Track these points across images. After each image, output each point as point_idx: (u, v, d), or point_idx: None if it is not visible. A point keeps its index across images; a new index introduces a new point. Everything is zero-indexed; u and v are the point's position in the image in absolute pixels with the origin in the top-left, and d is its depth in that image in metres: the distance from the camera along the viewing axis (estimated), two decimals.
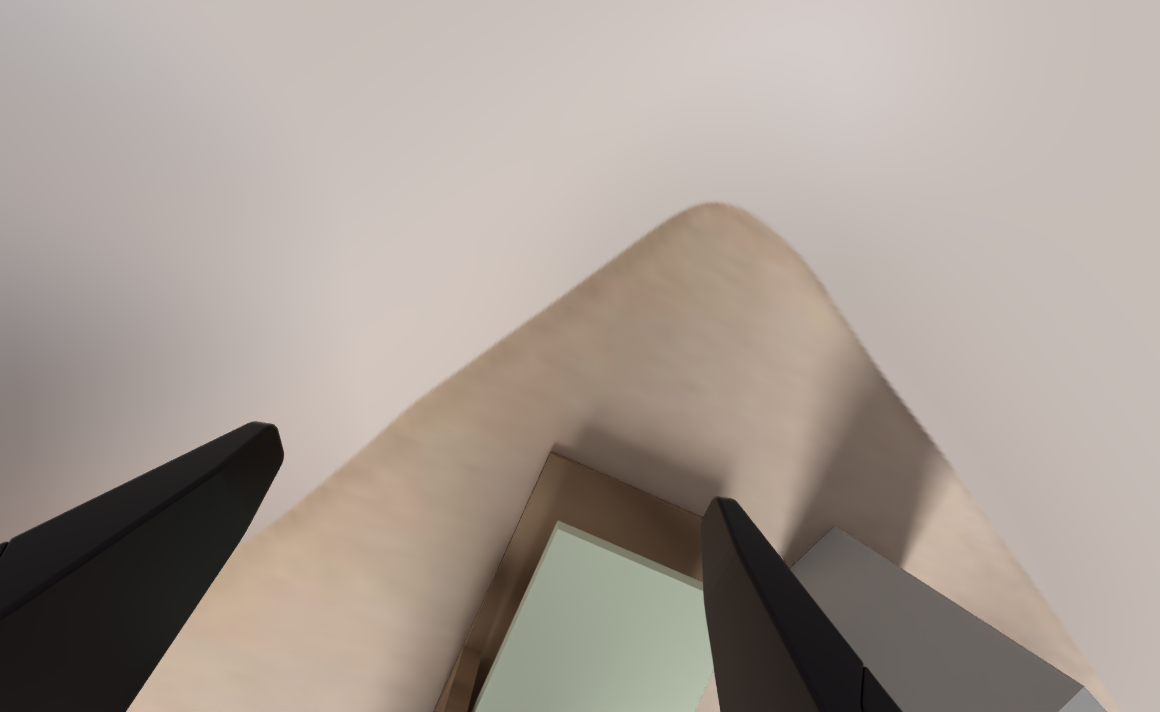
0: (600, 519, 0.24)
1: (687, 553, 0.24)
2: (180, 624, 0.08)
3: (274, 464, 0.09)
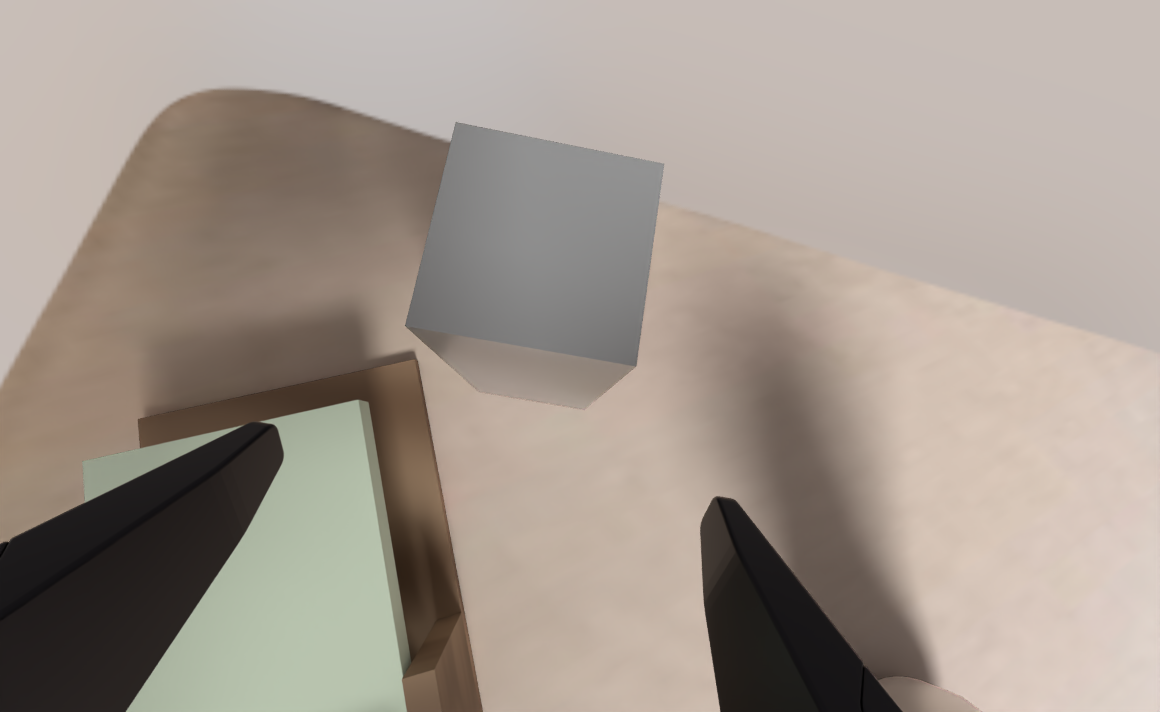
0: None
1: None
2: (180, 624, 0.08)
3: (274, 464, 0.09)
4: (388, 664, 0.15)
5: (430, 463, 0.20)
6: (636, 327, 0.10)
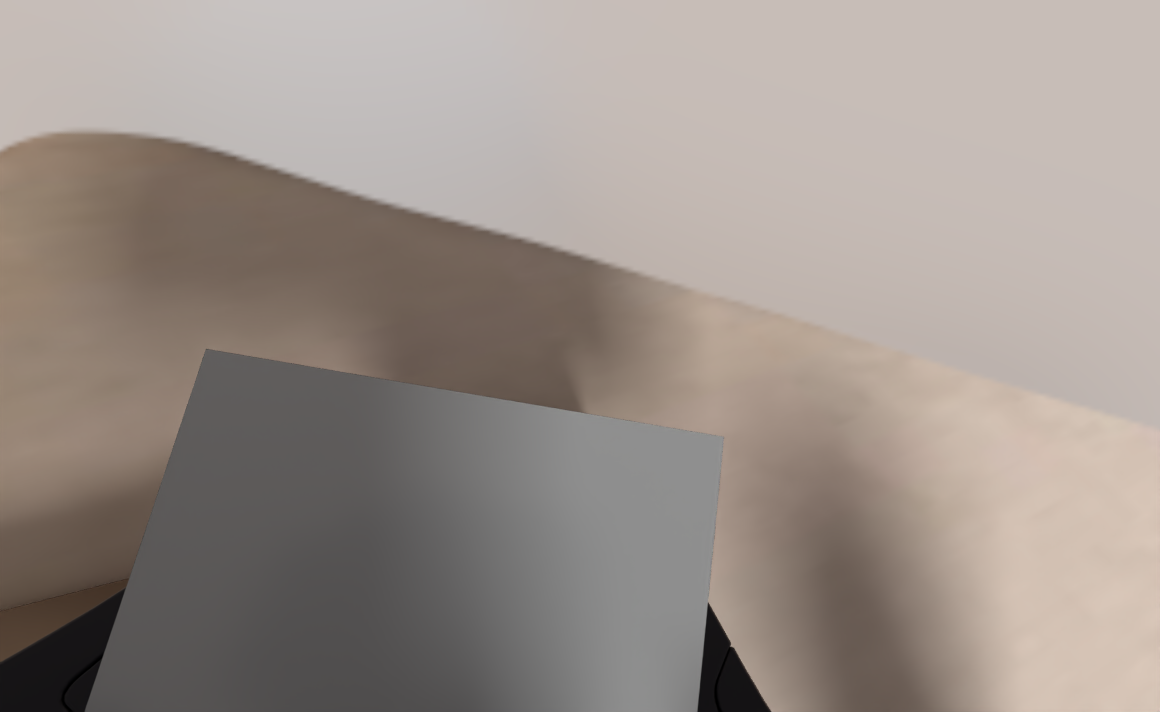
0: None
1: None
2: None
3: None
4: None
5: None
6: None
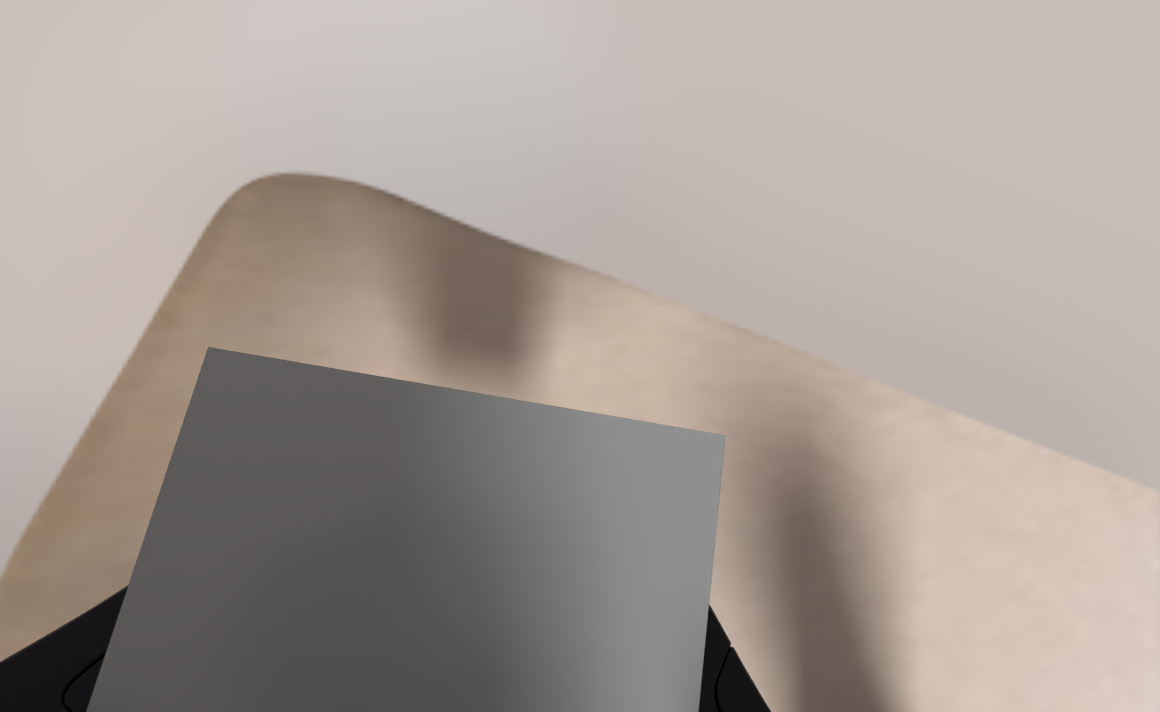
0: None
1: None
2: None
3: None
4: None
5: None
6: None
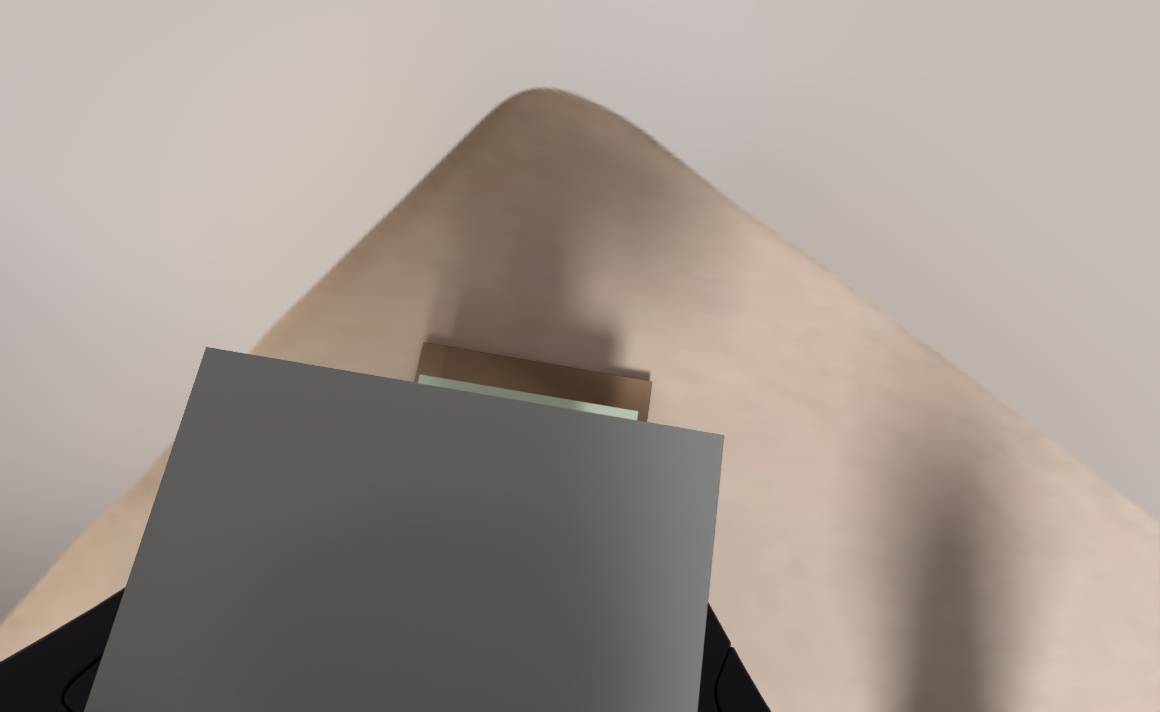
0: None
1: None
2: None
3: None
4: None
5: None
6: None
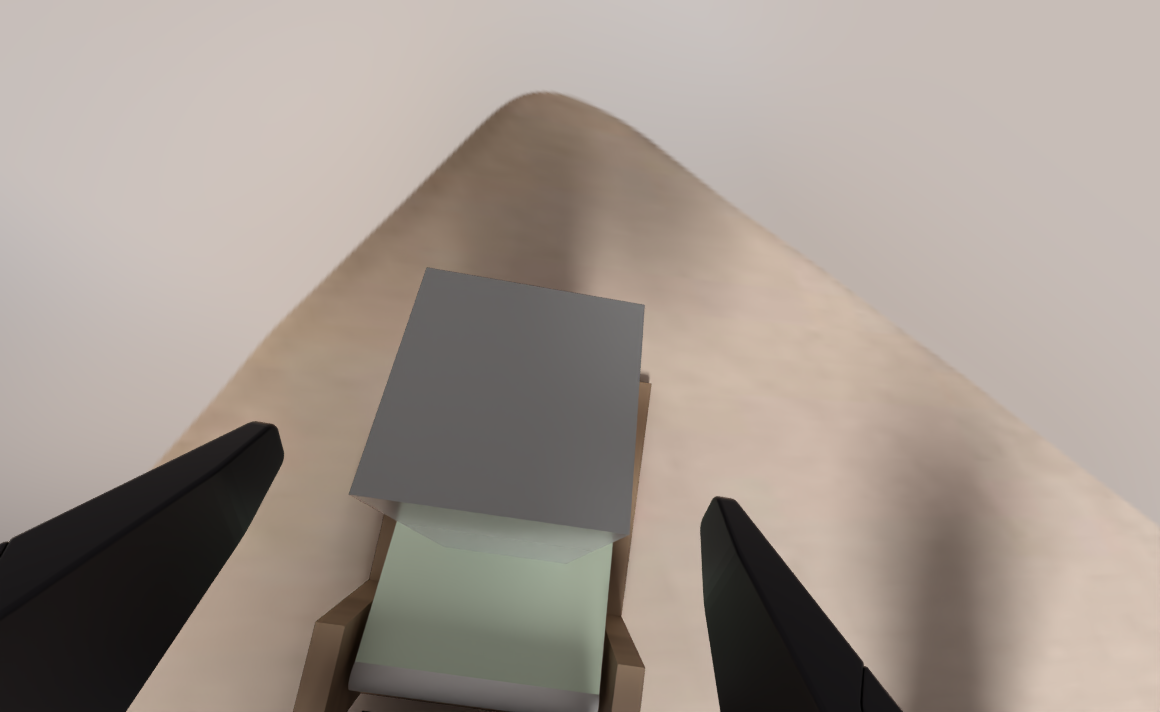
0: None
1: None
2: (180, 625, 0.08)
3: (274, 464, 0.09)
4: (594, 635, 0.18)
5: (636, 477, 0.23)
6: (627, 485, 0.09)
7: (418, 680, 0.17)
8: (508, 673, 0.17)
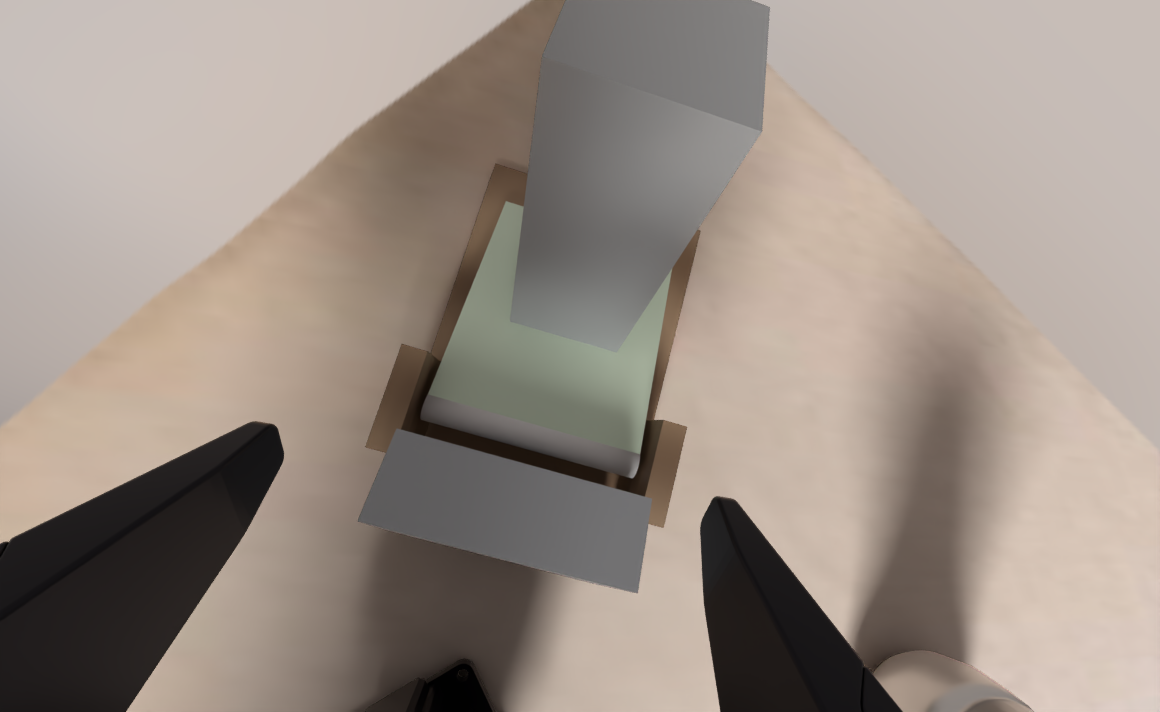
0: None
1: None
2: (180, 624, 0.08)
3: (274, 464, 0.09)
4: (638, 410, 0.20)
5: (678, 310, 0.24)
6: (759, 103, 0.10)
7: (483, 417, 0.18)
8: (562, 425, 0.19)
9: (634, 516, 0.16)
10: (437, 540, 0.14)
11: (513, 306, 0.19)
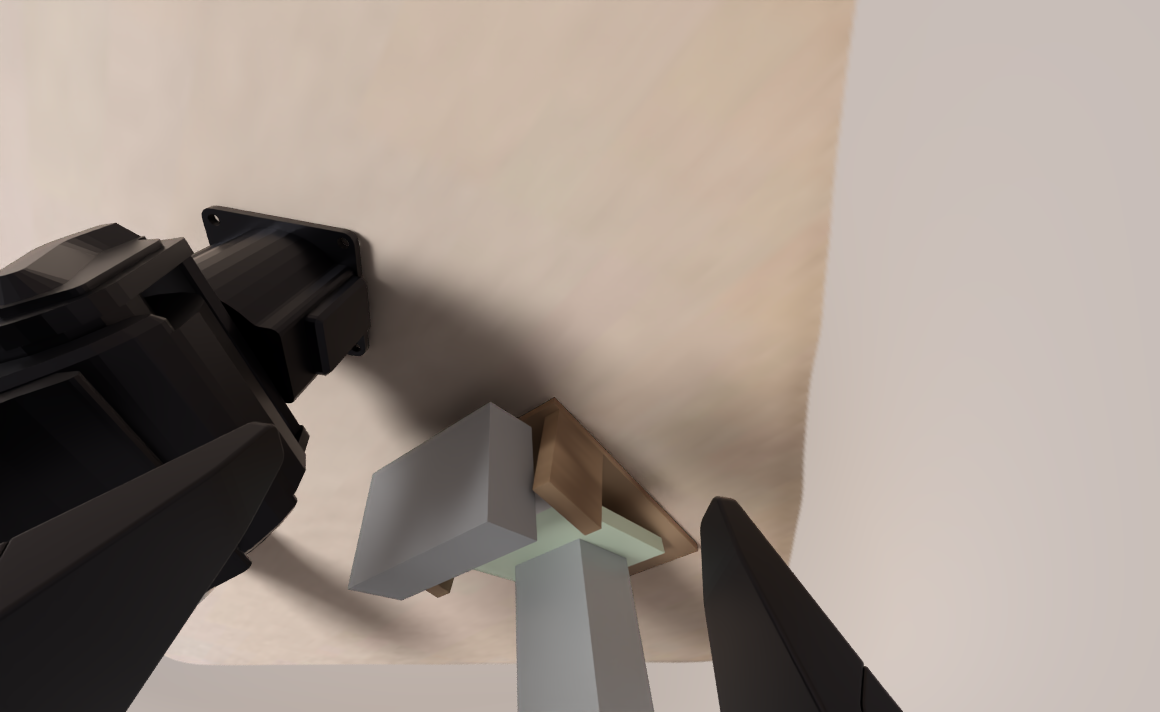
0: None
1: None
2: (181, 624, 0.08)
3: (274, 464, 0.09)
4: None
5: None
6: None
7: None
8: None
9: (395, 594, 0.23)
10: (444, 542, 0.19)
11: (581, 563, 0.25)
